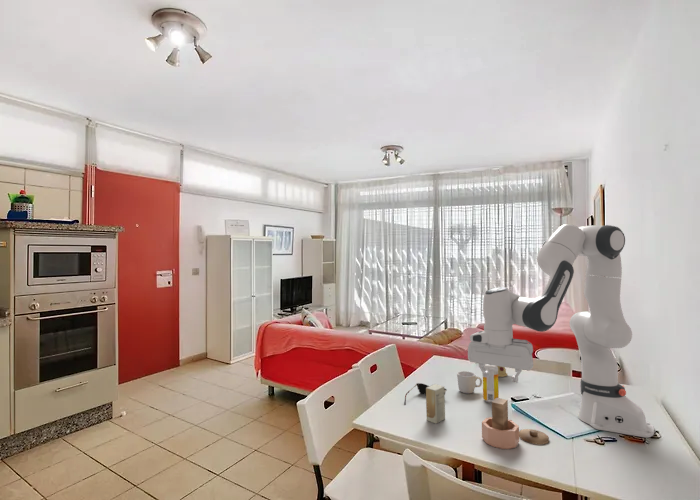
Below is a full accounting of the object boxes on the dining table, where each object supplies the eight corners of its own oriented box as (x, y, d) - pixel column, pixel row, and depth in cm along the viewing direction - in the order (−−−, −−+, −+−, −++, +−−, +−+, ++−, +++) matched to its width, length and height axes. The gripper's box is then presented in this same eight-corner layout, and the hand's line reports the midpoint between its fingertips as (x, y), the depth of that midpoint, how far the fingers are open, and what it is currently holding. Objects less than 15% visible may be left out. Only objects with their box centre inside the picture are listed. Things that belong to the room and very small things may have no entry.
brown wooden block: (508, 436, 125) (507, 399, 125) (503, 442, 121) (502, 404, 121) (497, 433, 127) (496, 397, 127) (492, 439, 123) (491, 402, 123)
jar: (522, 439, 125) (521, 422, 125) (512, 452, 116) (512, 434, 116) (489, 430, 131) (489, 414, 131) (478, 442, 123) (478, 425, 123)
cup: (480, 389, 172) (479, 371, 173) (484, 395, 164) (484, 376, 165) (455, 388, 173) (455, 370, 174) (459, 394, 166) (458, 376, 166)
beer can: (497, 398, 160) (497, 363, 161) (499, 404, 154) (498, 367, 155) (482, 397, 162) (482, 362, 162) (483, 402, 156) (483, 366, 156)
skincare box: (435, 415, 144) (435, 383, 144) (445, 419, 141) (445, 386, 141) (425, 420, 140) (425, 387, 140) (435, 424, 137) (435, 390, 137)
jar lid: (551, 437, 127) (550, 430, 127) (546, 448, 119) (545, 440, 119) (522, 430, 132) (522, 423, 132) (515, 440, 125) (515, 433, 125)
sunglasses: (447, 399, 161) (446, 388, 161) (433, 415, 148) (432, 402, 147) (417, 393, 169) (416, 382, 168) (401, 407, 155) (400, 395, 155)
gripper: (534, 338, 120) (536, 382, 120) (472, 332, 133) (473, 371, 133) (529, 342, 115) (531, 388, 115) (465, 335, 128) (466, 376, 128)
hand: (500, 379), depth 124 cm, fingers open, 8 cm apart
